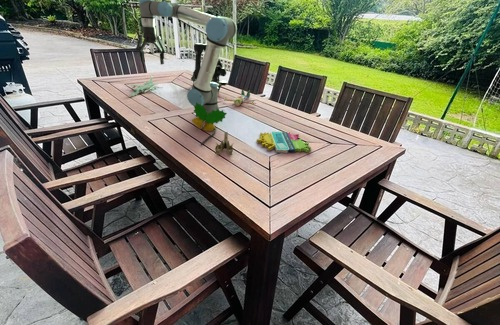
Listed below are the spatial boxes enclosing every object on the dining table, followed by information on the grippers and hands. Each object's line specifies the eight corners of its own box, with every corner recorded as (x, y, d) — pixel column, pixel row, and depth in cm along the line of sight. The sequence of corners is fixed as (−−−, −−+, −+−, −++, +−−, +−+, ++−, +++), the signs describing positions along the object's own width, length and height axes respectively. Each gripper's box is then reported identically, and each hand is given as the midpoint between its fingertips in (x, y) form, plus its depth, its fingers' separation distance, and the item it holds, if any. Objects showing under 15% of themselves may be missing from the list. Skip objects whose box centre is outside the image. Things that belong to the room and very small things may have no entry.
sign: (313, 150, 142) (258, 149, 139) (312, 153, 143) (258, 152, 140) (301, 132, 164) (254, 130, 161) (301, 134, 165) (254, 133, 162)
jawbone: (234, 135, 144) (233, 125, 135) (233, 160, 138) (232, 151, 129) (217, 135, 144) (216, 125, 135) (216, 160, 138) (214, 150, 129)
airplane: (123, 87, 237) (120, 75, 231) (158, 84, 250) (157, 74, 245) (127, 99, 208) (125, 87, 203) (167, 96, 221) (166, 84, 216)
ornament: (218, 133, 171) (224, 110, 169) (221, 134, 163) (227, 111, 161) (186, 125, 162) (192, 101, 160) (189, 126, 155) (195, 101, 153)
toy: (261, 91, 228) (254, 99, 202) (261, 99, 231) (253, 108, 205) (231, 87, 233) (220, 95, 207) (230, 95, 236) (219, 104, 210)
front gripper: (126, 24, 158) (132, 61, 168) (164, 28, 154) (167, 65, 164) (134, 24, 165) (139, 60, 175) (170, 27, 160) (173, 64, 170)
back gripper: (202, 74, 226) (203, 92, 234) (223, 77, 223) (222, 95, 230) (207, 72, 236) (207, 90, 243) (227, 74, 232) (226, 92, 240)
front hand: (152, 63), depth 169 cm, fingers open, 13 cm apart
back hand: (216, 91), depth 239 cm, fingers closed on block, 4 cm apart
